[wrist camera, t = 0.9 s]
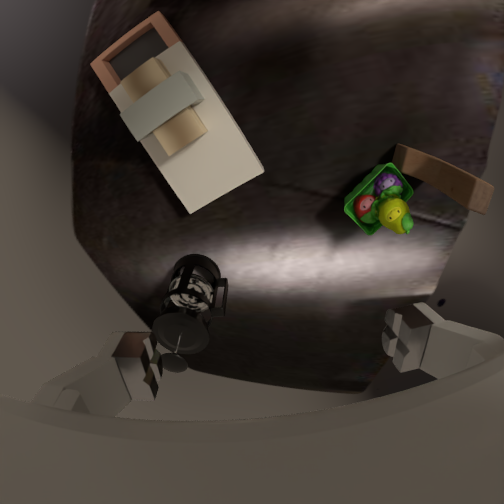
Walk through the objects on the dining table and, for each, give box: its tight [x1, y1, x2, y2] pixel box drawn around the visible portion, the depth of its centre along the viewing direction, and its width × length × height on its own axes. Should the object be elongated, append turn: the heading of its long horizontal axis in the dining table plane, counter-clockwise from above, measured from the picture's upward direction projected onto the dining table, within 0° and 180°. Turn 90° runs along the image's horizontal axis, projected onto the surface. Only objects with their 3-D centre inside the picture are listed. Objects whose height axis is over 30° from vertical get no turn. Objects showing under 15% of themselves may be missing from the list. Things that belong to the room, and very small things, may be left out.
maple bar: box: [120, 57, 208, 156], centre depth 38 cm, size 6×14×4 cm, turn 30°
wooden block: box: [392, 144, 494, 215], centre depth 38 cm, size 9×4×18 cm, turn 81°
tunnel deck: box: [90, 11, 264, 214], centre depth 39 cm, size 14×32×8 cm, turn 30°
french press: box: [152, 254, 228, 373], centre depth 48 cm, size 12×9×23 cm
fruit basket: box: [344, 163, 413, 235], centre depth 45 cm, size 11×9×11 cm
